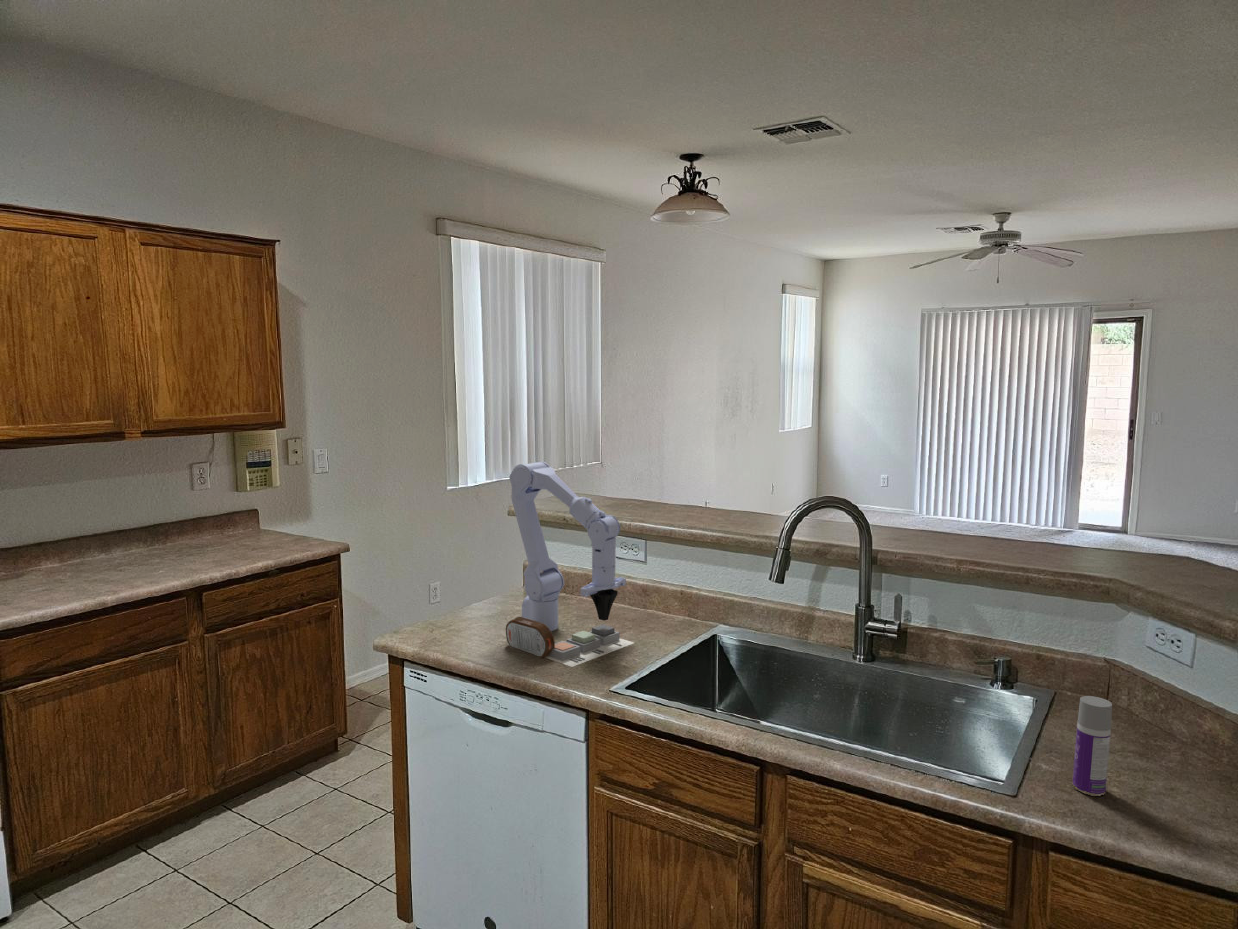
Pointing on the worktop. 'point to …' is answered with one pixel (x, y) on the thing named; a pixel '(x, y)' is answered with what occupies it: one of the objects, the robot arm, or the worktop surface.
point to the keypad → (588, 649)
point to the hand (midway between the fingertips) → (603, 619)
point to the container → (1092, 744)
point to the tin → (530, 636)
